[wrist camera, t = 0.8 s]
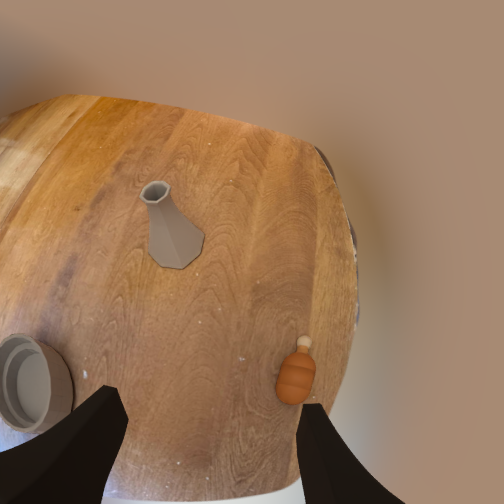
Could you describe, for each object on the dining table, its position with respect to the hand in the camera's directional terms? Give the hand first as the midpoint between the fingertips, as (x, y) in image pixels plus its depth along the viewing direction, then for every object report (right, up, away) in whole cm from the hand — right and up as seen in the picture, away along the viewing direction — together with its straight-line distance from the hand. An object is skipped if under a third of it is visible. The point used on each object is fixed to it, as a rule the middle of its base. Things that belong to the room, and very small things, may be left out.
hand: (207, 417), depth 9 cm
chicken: (+6, -6, +18) cm, 20 cm away
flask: (-8, +7, +26) cm, 28 cm away
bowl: (-25, -11, +15) cm, 31 cm away
